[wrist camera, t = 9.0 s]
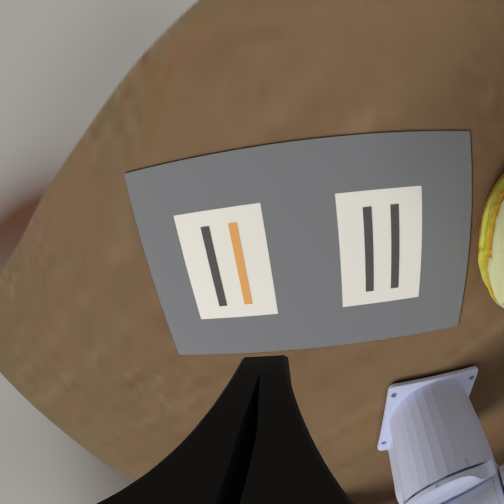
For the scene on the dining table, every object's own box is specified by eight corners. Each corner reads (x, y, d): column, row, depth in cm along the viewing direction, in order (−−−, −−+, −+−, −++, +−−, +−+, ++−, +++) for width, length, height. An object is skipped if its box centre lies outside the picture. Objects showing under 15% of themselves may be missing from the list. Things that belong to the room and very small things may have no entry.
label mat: (457, 325, 19) (458, 326, 19) (179, 353, 22) (179, 354, 22) (468, 130, 14) (470, 131, 14) (125, 173, 17) (123, 173, 17)
